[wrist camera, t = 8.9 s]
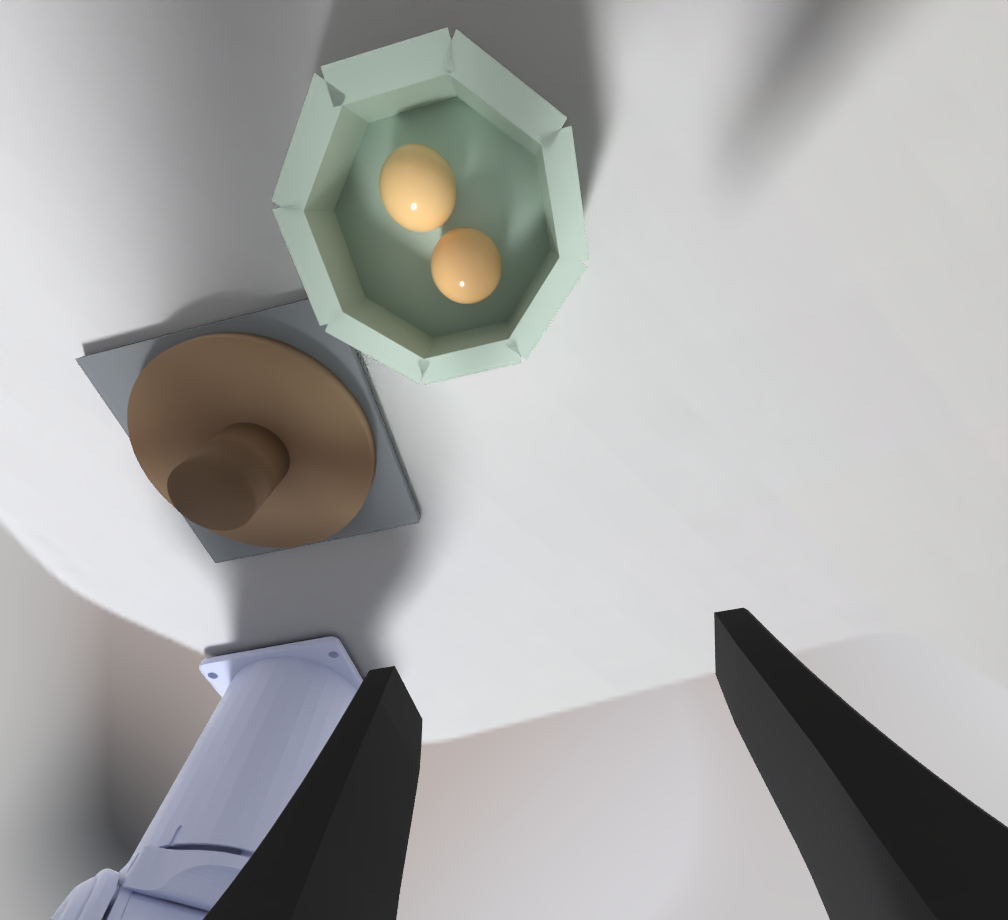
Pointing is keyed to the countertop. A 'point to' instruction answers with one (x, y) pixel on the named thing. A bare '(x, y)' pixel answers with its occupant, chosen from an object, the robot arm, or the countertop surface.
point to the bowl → (432, 207)
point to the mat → (302, 331)
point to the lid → (252, 439)
